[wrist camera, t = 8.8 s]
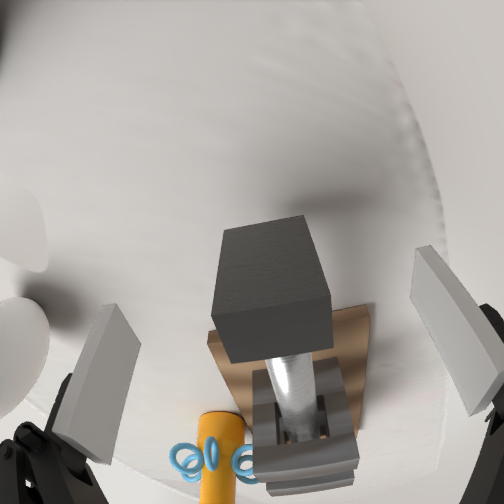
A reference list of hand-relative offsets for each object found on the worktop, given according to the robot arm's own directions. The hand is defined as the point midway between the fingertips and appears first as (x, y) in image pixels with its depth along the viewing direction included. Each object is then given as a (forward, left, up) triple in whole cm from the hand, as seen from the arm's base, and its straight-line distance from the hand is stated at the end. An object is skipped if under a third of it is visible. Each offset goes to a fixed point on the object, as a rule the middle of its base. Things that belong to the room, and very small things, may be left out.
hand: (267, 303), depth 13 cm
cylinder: (+27, -10, -10) cm, 31 cm away
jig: (+23, 0, -10) cm, 25 cm away
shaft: (+10, 0, -6) cm, 12 cm away
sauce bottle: (+5, -25, -10) cm, 27 cm away
